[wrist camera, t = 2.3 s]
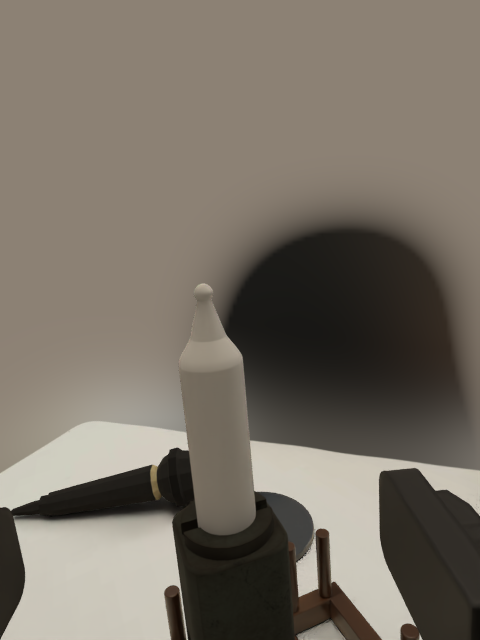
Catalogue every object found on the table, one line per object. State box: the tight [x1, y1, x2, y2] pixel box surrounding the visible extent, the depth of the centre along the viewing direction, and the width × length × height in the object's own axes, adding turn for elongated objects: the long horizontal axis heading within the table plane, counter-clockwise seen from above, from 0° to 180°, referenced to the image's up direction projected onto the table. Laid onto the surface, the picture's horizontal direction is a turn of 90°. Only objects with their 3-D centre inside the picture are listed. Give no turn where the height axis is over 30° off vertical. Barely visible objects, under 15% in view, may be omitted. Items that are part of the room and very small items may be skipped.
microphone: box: [11, 448, 195, 516], centre depth 45 cm, size 6×6×20 cm
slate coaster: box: [257, 492, 314, 561], centre depth 41 cm, size 10×10×1 cm
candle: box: [172, 284, 295, 640], centre depth 23 cm, size 5×5×25 cm
